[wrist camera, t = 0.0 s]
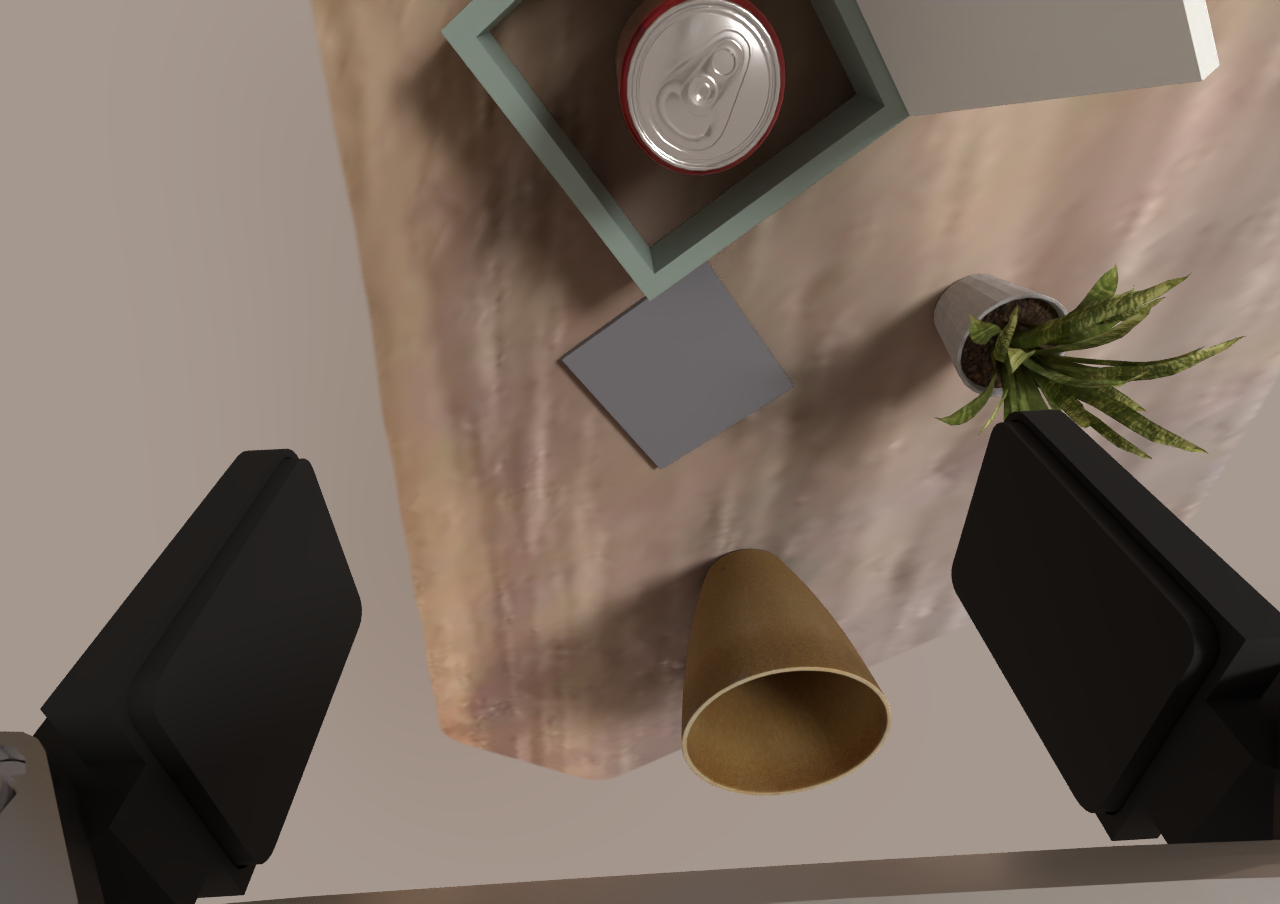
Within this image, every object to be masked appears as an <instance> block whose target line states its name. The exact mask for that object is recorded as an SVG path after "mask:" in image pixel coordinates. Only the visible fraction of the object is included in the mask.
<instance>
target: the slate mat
mask: <svg viewBox="0 0 1280 904" xmlns="http://www.w3.org/2000/svg"><path fill="white" fill-rule="evenodd" d="M562 361H563V362H564V363H565V364H566V365H567V366H568V368H569V369H570V370H571V371H572V372H573V373H574V374H575V375H576V376H577V378H578V379H579V380H580V381H581V382H582V383H583V384H584V385H585V386H586V388H587V389H588V390H589V391H590V392H591V393H592V394H593V395H594V396H595V397H596V399H597V400H598V401H599V402H600V403H601V404H602V405H603V406H604V407H605V409H606V410H607V411H608V412H609V413H610V414H611V415H612V416H613V417H614V419H615V420H616V421H617V422H618V423H619V424H620V425H621V426H622V427H623V429H624V430H625V431H626V432H627V433H628V434H629V435H630V436H631V437H632V439H633V440H634V441H635V442H636V443H637V444H638V445H639V446H640V447H641V449H642V450H643V451H644V452H645V453H646V454H647V455H648V456H649V457H650V459H651V460H652V461H653V462H654V463H655V464H656V465H657V466H658V467H659V469H660V470H661V469H663V468H664V467H666V466H668V465H669V464H671V463H672V462H674V461H676V460H677V459H679V458H680V457H682V456H684V455H685V454H687V453H689V452H690V451H692V450H693V449H695V448H697V447H698V446H700V445H701V444H703V443H705V442H706V441H708V440H709V439H711V438H713V437H714V436H716V435H717V434H719V433H721V432H722V431H724V430H726V429H727V428H729V427H730V426H732V425H734V424H735V423H737V422H738V421H740V420H742V419H743V418H745V417H746V416H748V415H750V414H751V413H753V412H755V411H756V410H758V409H759V408H761V407H763V406H764V405H766V404H767V403H769V402H771V401H772V400H774V399H775V398H777V397H779V396H780V395H782V394H784V393H785V392H787V391H788V390H790V389H792V388H793V387H794V386H793V384H792V382H791V381H790V379H789V378H788V376H787V375H786V374H785V372H784V371H783V369H782V368H781V366H780V365H779V364H778V362H777V361H776V359H775V358H774V356H773V355H772V354H771V352H770V351H769V349H768V348H767V346H766V345H765V344H764V342H763V341H762V339H761V338H760V336H759V335H758V334H757V332H756V331H755V329H754V328H753V326H752V325H751V324H750V322H749V321H748V319H747V318H746V316H745V315H744V314H743V312H742V311H741V309H740V308H739V306H738V305H737V303H736V302H735V301H734V299H733V298H732V296H731V295H730V293H729V292H728V291H727V289H726V288H725V286H724V285H723V283H722V282H721V281H720V279H719V278H718V276H717V275H716V273H715V272H714V271H713V269H712V268H711V266H710V265H709V263H708V262H707V261H706V262H704V263H703V264H701V265H700V266H699V267H697V268H696V269H694V270H693V271H692V272H690V273H689V274H687V275H686V276H685V277H683V278H682V279H680V280H679V281H678V282H676V283H675V284H673V285H672V286H671V287H669V288H668V289H666V290H665V291H664V292H662V293H661V294H659V295H658V296H657V297H655V298H654V299H652V300H651V301H649V300H648V298H647V297H646V296H645V297H644V298H643V299H641V300H640V301H638V302H637V303H636V304H634V305H633V306H631V307H630V308H629V309H627V310H626V311H624V312H623V313H622V314H620V315H619V316H618V317H616V318H615V319H613V320H612V321H611V322H609V323H608V324H606V325H605V326H604V327H602V328H601V329H599V330H598V331H597V332H595V333H594V334H592V335H591V336H590V337H588V338H587V339H586V340H584V341H583V342H581V343H580V344H579V345H577V346H576V347H574V348H573V349H572V350H570V351H569V352H567V353H566V354H565V355H563V356H562Z"/></svg>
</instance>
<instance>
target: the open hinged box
mask: <svg viewBox="0 0 1280 904" xmlns="http://www.w3.org/2000/svg"><path fill="white" fill-rule="evenodd" d="M522 1H523V0H472V1H471V2H470V3H469V4H468V5H467V6H466V7H465V8H464V9H463V10H462V11H461V12H460V13H459V14H458V15H457V16H456V17H455V18H454V19H453V20H452V21H451V22H450V23H449V24H448V25H447V26H446V27H444V28H443V29H442V30H441V33H442V34H443V35H444V36H445V38H446V39H447V40H448V42H449V43H450V44H451V45H452V47H453V48H454V49H455V51H456V52H457V53H458V55H459V56H460V57H461V58H462V60H463V61H464V62H465V64H466V65H467V66H468V67H469V69H470V70H471V71H472V73H473V74H474V75H475V76H476V78H477V79H478V80H479V82H480V83H481V84H482V85H483V87H484V88H485V89H486V91H487V92H488V93H489V95H490V96H491V97H492V98H493V100H494V101H495V102H496V104H497V105H498V106H499V107H500V109H501V110H502V111H503V113H504V114H505V115H506V116H507V118H508V119H509V120H510V122H511V123H512V124H513V125H514V127H515V128H516V129H517V131H518V132H519V133H520V134H521V136H522V137H523V138H524V140H525V141H526V142H527V144H528V145H529V146H530V147H531V149H532V150H533V151H534V153H535V154H536V155H537V156H538V158H539V159H540V160H541V162H542V163H543V164H544V165H545V167H546V168H547V169H548V171H549V172H550V173H551V174H552V176H553V177H554V178H555V180H556V181H557V182H558V184H559V185H560V186H561V187H562V189H563V190H564V191H565V193H566V194H567V195H568V196H569V198H570V199H571V200H572V202H573V203H574V204H575V205H576V207H577V208H578V209H579V211H580V212H581V213H582V214H583V216H584V217H585V218H586V220H587V221H588V222H589V223H590V225H591V226H592V227H593V229H594V230H595V231H596V233H597V234H598V235H599V236H600V238H601V239H602V240H603V242H604V243H605V244H606V245H607V247H608V248H609V249H610V251H611V252H612V253H613V254H614V256H615V257H616V258H617V260H618V261H619V262H620V263H621V265H622V266H623V267H624V269H625V270H626V271H627V273H628V274H629V275H630V276H631V278H632V279H633V280H634V282H635V283H636V284H637V285H638V287H639V288H640V289H641V291H642V292H643V293H644V294H645V296H646V297H647V298H648V300H649V301H651V300H652V299H654V298H655V297H657V296H658V295H659V294H661V293H662V292H664V291H665V290H666V289H668V288H669V287H671V286H672V285H673V284H675V283H676V282H678V281H679V280H680V279H682V278H683V277H685V276H686V275H687V274H689V273H690V272H692V271H693V270H694V269H696V268H697V267H699V266H700V265H701V264H703V263H704V262H706V261H707V260H708V259H710V258H711V257H712V256H714V255H715V254H717V253H718V252H719V251H721V250H722V249H724V248H725V247H726V246H728V245H729V244H731V243H732V242H733V241H735V240H736V239H738V238H739V237H740V236H742V235H743V234H745V233H746V232H747V231H749V230H750V229H752V228H753V227H754V226H756V225H757V224H759V223H760V222H761V221H763V220H764V219H766V218H767V217H768V216H770V215H771V214H773V213H774V212H775V211H777V210H778V209H780V208H781V207H782V206H784V205H785V204H787V203H788V202H789V201H791V200H792V199H794V198H795V197H796V196H798V195H799V194H801V193H802V192H803V191H805V190H806V189H808V188H809V187H810V186H812V185H813V184H815V183H816V182H817V181H819V180H820V179H822V178H823V177H824V176H826V175H827V174H829V173H830V172H831V171H833V170H834V169H836V168H837V167H838V166H840V165H841V164H843V163H844V162H845V161H847V160H848V159H850V158H851V157H852V156H854V155H855V154H857V153H858V152H859V151H861V150H862V149H864V148H865V147H866V146H868V145H869V144H871V143H872V142H873V141H875V140H876V139H878V138H879V137H880V136H882V135H883V134H885V133H886V132H887V131H889V130H890V129H892V128H893V127H894V126H896V125H897V124H899V123H900V122H901V121H903V120H904V119H906V118H907V117H908V116H917V115H926V114H934V113H942V112H950V111H959V110H967V109H975V108H983V107H991V106H1000V105H1008V104H1016V103H1024V102H1033V101H1041V100H1049V99H1057V98H1066V97H1074V96H1082V95H1090V94H1098V93H1107V92H1115V91H1123V90H1131V89H1140V88H1148V87H1156V86H1164V85H1172V84H1181V83H1189V82H1197V81H1202V80H1204V79H1205V78H1206V77H1207V76H1208V75H1209V74H1210V73H1211V72H1212V71H1213V70H1215V69H1216V68H1217V67H1218V66H1219V60H1218V56H1217V51H1216V47H1215V42H1214V38H1213V33H1212V29H1211V24H1210V20H1209V15H1208V10H1207V6H1206V1H1205V0H810V2H811V4H812V6H813V8H814V10H815V12H816V14H817V16H818V18H819V20H820V22H821V24H822V26H823V28H824V30H825V32H826V34H827V36H828V38H829V40H830V42H831V44H832V46H833V48H834V50H835V52H836V54H837V56H838V58H839V60H840V62H841V64H842V66H843V68H844V70H845V72H846V74H847V76H848V78H849V80H850V82H851V84H852V86H853V88H854V90H855V92H856V95H855V96H853V97H852V98H851V99H849V100H848V101H847V102H845V103H844V104H843V105H841V106H840V107H839V108H837V109H836V110H834V111H833V112H832V113H830V114H829V115H828V116H826V117H825V118H824V119H822V120H821V121H820V122H818V123H817V124H816V125H814V126H813V127H812V128H810V129H809V130H808V131H806V132H805V133H804V134H802V135H801V136H800V137H798V138H797V139H795V140H794V141H793V142H791V143H790V144H789V145H787V146H786V147H785V148H783V149H782V150H781V151H779V152H778V153H777V154H775V155H774V156H773V157H771V158H770V159H769V160H767V161H766V162H765V163H763V164H762V165H761V166H759V167H758V168H756V169H755V170H754V171H752V172H751V173H750V174H748V175H747V176H746V177H744V178H743V179H742V180H740V181H739V182H738V183H736V184H735V185H734V186H732V187H731V188H730V189H728V190H727V191H726V192H724V193H723V194H722V195H720V196H719V197H718V198H716V199H715V200H713V201H712V202H711V203H709V204H708V205H707V206H705V207H704V208H703V209H701V210H700V211H699V212H697V213H696V214H695V215H693V216H692V217H691V218H689V219H688V220H687V221H685V222H684V223H683V224H681V225H680V226H679V227H677V228H676V229H674V230H673V231H672V232H670V233H669V234H668V235H666V236H665V237H664V238H662V239H661V240H660V241H658V242H657V243H656V244H654V245H653V246H652V247H650V248H649V246H648V245H647V244H646V242H645V241H644V240H643V238H642V237H641V235H640V234H639V233H638V231H637V230H636V229H635V227H634V226H633V225H632V223H631V222H630V221H629V219H628V218H627V217H626V215H625V214H624V212H623V211H622V210H621V208H620V207H619V206H618V204H617V203H616V202H615V200H614V199H613V198H612V196H611V195H610V194H609V192H608V191H607V190H606V188H605V187H604V185H603V184H602V183H601V181H600V180H599V179H598V177H597V176H596V175H595V173H594V172H593V171H592V169H591V168H590V167H589V165H588V164H587V162H586V161H585V160H584V158H583V157H582V156H581V154H580V153H579V152H578V150H577V149H576V148H575V146H574V145H573V144H572V142H571V141H570V140H569V138H568V137H567V135H566V134H565V133H564V131H563V130H562V129H561V127H560V126H559V125H558V123H557V122H556V121H555V119H554V118H553V117H552V115H551V114H550V113H549V111H548V110H547V108H546V107H545V106H544V104H543V103H542V102H541V100H540V99H539V98H538V96H537V95H536V94H535V92H534V91H533V90H532V88H531V87H530V85H529V84H528V83H527V81H526V80H525V79H524V77H523V76H522V75H521V73H520V72H519V71H518V69H517V68H516V67H515V65H514V64H513V63H512V61H511V60H510V58H509V57H508V56H507V54H506V53H505V52H504V50H503V49H502V48H501V46H500V45H499V44H498V42H497V41H496V40H495V38H494V37H493V35H492V34H491V33H490V31H491V30H492V29H493V28H494V27H496V26H497V25H498V24H499V23H500V22H501V21H502V20H503V19H504V18H505V17H506V16H507V15H508V14H509V13H510V12H511V11H513V10H514V9H515V8H516V7H517V6H518V5H519V4H520V3H521V2H522Z"/></svg>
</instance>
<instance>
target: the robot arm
mask: <svg viewBox="0 0 1280 904" xmlns="http://www.w3.org/2000/svg"><path fill="white" fill-rule="evenodd" d="M952 583H953V586H954V589H955V592H956V594H957V595H958V597H959V599H960V601H961V602H962V604H963V606H964V607H965V609H966V611H967V613H968V614H969V616H970V618H971V619H972V621H973V623H974V625H975V626H976V628H977V630H978V631H979V633H980V635H981V637H982V638H983V640H984V642H985V643H986V645H987V647H988V649H989V650H990V652H991V653H992V655H993V657H994V659H995V661H996V662H997V664H998V666H999V668H1000V669H1001V671H1002V673H1003V675H1004V676H1005V678H1006V680H1007V681H1008V683H1009V685H1010V686H1011V688H1012V690H1013V692H1014V693H1015V695H1016V697H1017V699H1018V700H1019V702H1020V704H1021V705H1022V707H1023V709H1024V711H1025V712H1026V714H1027V716H1028V718H1029V719H1030V721H1031V723H1032V724H1033V726H1034V728H1035V730H1036V731H1037V733H1038V735H1039V736H1040V738H1041V740H1042V741H1043V743H1044V745H1045V747H1046V748H1047V750H1048V752H1049V754H1050V755H1051V757H1052V759H1053V761H1054V762H1055V764H1056V766H1057V767H1058V769H1059V771H1060V773H1061V774H1062V776H1063V778H1064V779H1065V781H1066V783H1067V785H1068V786H1069V788H1070V790H1071V791H1072V793H1073V795H1074V797H1075V798H1076V800H1077V801H1078V802H1079V804H1080V805H1081V806H1082V807H1083V808H1084V809H1085V810H1086V811H1088V812H1090V813H1095V814H1096V815H1097V817H1098V818H1099V820H1100V822H1101V823H1102V825H1103V827H1104V828H1105V830H1106V832H1107V834H1108V835H1109V837H1110V839H1111V840H1112V841H1120V840H1135V839H1136V840H1137V839H1151V838H1152V839H1153V838H1158V837H1159V836H1160V834H1162V836H1163V837H1164V839H1165V840H1166V842H1167V843H1168V844H1162V845H1135V846H1113V847H1094V848H1077V849H1062V850H1043V851H1024V852H1008V853H990V854H972V855H954V856H938V857H919V858H903V859H884V860H867V861H851V862H834V863H818V864H802V865H786V866H769V867H753V868H737V869H722V870H705V871H689V872H673V873H657V874H642V875H626V876H610V877H594V878H578V879H563V880H548V881H534V882H533V881H532V882H518V883H503V884H489V885H473V886H458V887H444V888H429V889H414V890H399V891H384V892H370V893H356V894H340V895H325V896H311V897H298V898H287V899H275V900H263V901H251V902H240V903H230V904H1280V612H1279V611H1278V610H1277V609H1276V608H1275V607H1274V606H1272V605H1271V604H1270V603H1269V602H1268V601H1267V600H1266V599H1265V598H1264V597H1263V596H1262V595H1260V594H1259V593H1258V592H1257V591H1256V590H1255V589H1254V588H1253V587H1252V586H1251V585H1250V584H1249V583H1248V582H1246V581H1245V580H1244V579H1243V578H1242V577H1241V576H1240V575H1239V574H1238V573H1237V572H1236V571H1235V570H1233V569H1232V568H1231V567H1230V566H1229V565H1228V564H1227V563H1226V562H1225V561H1224V560H1223V559H1222V558H1221V557H1219V556H1218V555H1217V554H1216V553H1215V552H1214V551H1213V550H1212V549H1211V548H1210V547H1209V546H1207V545H1206V544H1205V543H1204V542H1203V541H1202V540H1201V539H1200V538H1199V537H1198V536H1196V534H1195V533H1194V532H1192V531H1191V530H1190V529H1189V528H1188V527H1187V526H1186V525H1185V524H1184V523H1183V522H1182V521H1181V520H1180V519H1178V518H1177V517H1176V516H1175V515H1174V514H1173V513H1172V512H1171V511H1170V510H1169V509H1168V508H1167V507H1165V506H1164V505H1163V504H1162V503H1161V502H1160V501H1159V500H1158V499H1157V498H1156V497H1155V496H1154V495H1152V494H1151V493H1150V492H1149V491H1148V490H1147V489H1146V488H1145V487H1144V486H1143V485H1142V484H1141V483H1139V482H1138V481H1137V480H1136V479H1135V478H1134V477H1133V476H1132V475H1131V474H1130V473H1129V472H1128V471H1127V470H1125V469H1124V468H1123V467H1122V466H1121V465H1120V464H1119V463H1118V462H1117V461H1116V460H1115V459H1114V458H1112V457H1111V456H1110V455H1109V454H1108V453H1107V452H1106V451H1105V450H1104V449H1103V448H1102V447H1101V446H1099V445H1098V444H1097V443H1096V442H1095V441H1094V440H1093V439H1092V438H1091V437H1090V436H1089V435H1088V434H1087V433H1085V432H1084V431H1083V430H1082V429H1081V428H1080V427H1079V426H1078V425H1077V424H1076V423H1075V422H1074V421H1072V420H1071V419H1070V418H1069V417H1068V416H1067V415H1066V414H1065V413H1063V412H1062V411H1060V410H1054V409H1051V410H1031V411H1014V412H1012V413H1010V414H1009V415H1008V416H1007V417H1006V419H1005V421H1004V422H1001V423H998V424H996V426H995V427H994V428H993V430H992V433H991V436H990V439H989V442H988V446H987V449H986V453H985V456H984V459H983V463H982V466H981V470H980V473H979V476H978V480H977V483H976V487H975V490H974V493H973V497H972V500H971V504H970V507H969V510H968V514H967V517H966V521H965V524H964V527H963V531H962V534H961V538H960V541H959V544H958V548H957V551H956V555H955V558H954V561H953V565H952ZM361 616H362V607H361V600H360V597H359V594H358V591H357V588H356V586H355V583H354V580H353V577H352V575H351V572H350V569H349V566H348V564H347V561H346V558H345V555H344V553H343V550H342V547H341V544H340V542H339V539H338V536H337V534H336V531H335V528H334V525H333V522H332V520H331V517H330V514H329V511H328V509H327V506H326V503H325V500H324V498H323V495H322V492H321V489H320V487H319V484H318V481H317V478H316V475H315V473H314V470H313V468H312V466H311V464H310V462H309V461H308V460H306V459H299V458H298V456H297V455H296V454H295V453H294V452H293V451H292V450H289V449H274V450H253V451H245V452H242V453H241V454H240V455H239V456H237V458H236V459H235V460H234V462H233V463H232V464H231V466H230V467H229V468H228V469H227V471H226V472H225V473H224V475H223V476H222V477H221V478H220V479H219V481H218V482H217V483H216V485H215V486H214V487H213V489H212V490H211V491H210V492H209V494H208V495H207V496H206V498H205V499H204V500H203V501H202V503H201V504H200V505H199V506H198V508H197V509H196V510H195V511H194V513H193V514H192V515H191V517H190V518H189V519H188V520H187V522H186V523H185V524H184V526H183V527H182V528H181V529H180V531H179V532H178V533H177V534H176V536H175V537H174V538H173V540H172V541H171V542H170V543H169V545H168V546H167V547H166V549H165V550H164V551H163V553H162V554H161V555H160V556H159V558H158V559H157V560H156V562H155V563H154V564H153V565H152V566H151V568H150V569H149V570H148V572H147V573H146V574H145V575H144V577H143V578H142V579H141V581H140V582H139V583H138V585H137V586H136V587H135V588H134V590H133V591H132V592H131V593H130V595H129V596H128V597H127V598H126V600H125V601H124V602H123V604H122V605H121V606H120V608H119V609H118V610H117V611H116V613H115V614H114V615H113V616H112V618H111V619H110V620H109V622H108V623H107V624H106V625H105V627H104V628H103V629H102V630H101V632H100V633H99V634H98V636H97V637H96V638H95V639H94V641H93V642H92V643H91V645H90V646H89V647H88V648H87V650H86V651H85V652H84V654H83V655H82V656H81V657H80V659H79V660H78V661H77V662H76V664H75V665H74V666H73V668H72V669H71V670H70V671H69V673H68V674H67V675H66V677H65V678H64V679H63V680H62V682H61V683H60V684H59V685H58V687H57V688H56V689H55V691H54V692H53V693H52V694H51V696H50V697H49V698H48V700H47V701H46V702H45V704H44V705H43V706H42V707H41V711H42V712H43V713H44V714H45V716H46V717H47V718H46V720H45V721H44V722H43V723H42V725H41V726H40V727H39V729H38V730H37V731H36V733H35V734H34V735H33V736H31V735H28V734H26V733H24V732H0V904H195V902H196V900H197V898H204V897H220V896H237V895H244V894H245V891H246V889H247V886H248V884H249V881H250V879H251V876H252V874H253V871H254V868H255V866H256V864H263V863H264V862H265V861H267V860H268V858H269V857H270V856H271V854H272V852H273V850H274V848H275V845H276V843H277V840H278V837H279V835H280V832H281V830H282V827H283V824H284V822H285V819H286V816H287V814H288V811H289V809H290V806H291V804H292V801H293V798H294V796H295V793H296V791H297V788H298V785H299V783H300V780H301V778H302V775H303V772H304V769H305V767H306V764H307V762H308V759H309V756H310V754H311V751H312V749H313V746H314V743H315V741H316V738H317V736H318V733H319V731H320V728H321V725H322V723H323V720H324V717H325V715H326V712H327V710H328V707H329V704H330V702H331V699H332V696H333V694H334V691H335V688H336V686H337V683H338V681H339V678H340V676H341V673H342V670H343V668H344V665H345V663H346V660H347V657H348V655H349V652H350V650H351V647H352V644H353V642H354V639H355V637H356V634H357V631H358V629H359V626H360V622H361ZM228 904H229V903H228Z"/></svg>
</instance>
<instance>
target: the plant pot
mask: <svg viewBox="0 0 1280 904" xmlns="http://www.w3.org/2000/svg"><path fill="white" fill-rule="evenodd" d="M890 726H891V710H890V706H889V704H888V701H887V699H886V698H885V696H884V694H883V693H882V691H881V689H880V688H879V686H878V684H877V683H876V681H875V679H874V678H873V676H872V675H871V673H870V671H869V670H868V668H867V666H866V665H865V663H864V662H863V660H862V658H861V657H860V655H859V654H858V652H857V651H856V649H855V647H854V646H853V645H852V643H851V642H850V640H849V639H848V637H847V636H846V634H845V633H844V632H843V630H842V629H841V628H840V626H839V625H838V623H837V622H836V621H835V620H834V618H833V617H832V616H831V614H830V613H829V612H828V610H827V609H826V608H825V607H824V606H823V604H822V603H821V602H820V601H819V599H818V598H817V597H816V596H815V595H814V594H813V593H812V592H811V590H810V589H809V588H808V587H807V586H806V585H805V584H804V583H803V582H802V581H801V580H800V579H799V578H798V576H797V575H796V574H794V573H793V572H792V571H791V570H790V569H789V568H788V567H787V566H786V565H785V564H784V563H783V562H782V561H781V560H780V559H779V558H777V557H776V556H775V555H773V554H771V553H769V552H766V551H763V550H757V549H744V550H738V551H735V552H731V553H729V554H727V555H725V556H723V557H721V558H720V559H718V560H717V561H716V562H715V563H714V564H713V565H712V566H711V567H710V569H709V570H708V572H707V574H706V576H705V579H704V582H703V585H702V588H701V592H700V595H699V598H698V602H697V606H696V609H695V614H694V618H693V623H692V628H691V633H690V639H689V645H688V652H687V659H686V668H685V677H684V689H683V705H682V752H683V755H684V758H685V761H686V763H687V764H688V766H689V767H690V769H691V770H692V771H693V772H694V773H695V774H696V775H697V776H699V777H700V778H701V779H702V780H704V781H705V782H707V783H709V784H711V785H714V786H716V787H718V788H721V789H724V790H727V791H731V792H735V793H740V794H748V795H782V794H791V793H796V792H802V791H806V790H810V789H814V788H817V787H820V786H823V785H826V784H829V783H831V782H834V781H835V780H838V779H840V778H842V777H844V776H846V775H848V774H850V773H852V772H853V771H855V770H856V769H858V768H859V767H861V766H862V765H863V764H864V763H866V762H867V761H868V760H869V759H870V758H871V757H872V756H874V755H875V754H876V752H877V751H878V750H879V749H880V748H881V746H882V745H883V743H884V742H885V740H886V738H887V735H888V733H889V730H890Z"/></svg>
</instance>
